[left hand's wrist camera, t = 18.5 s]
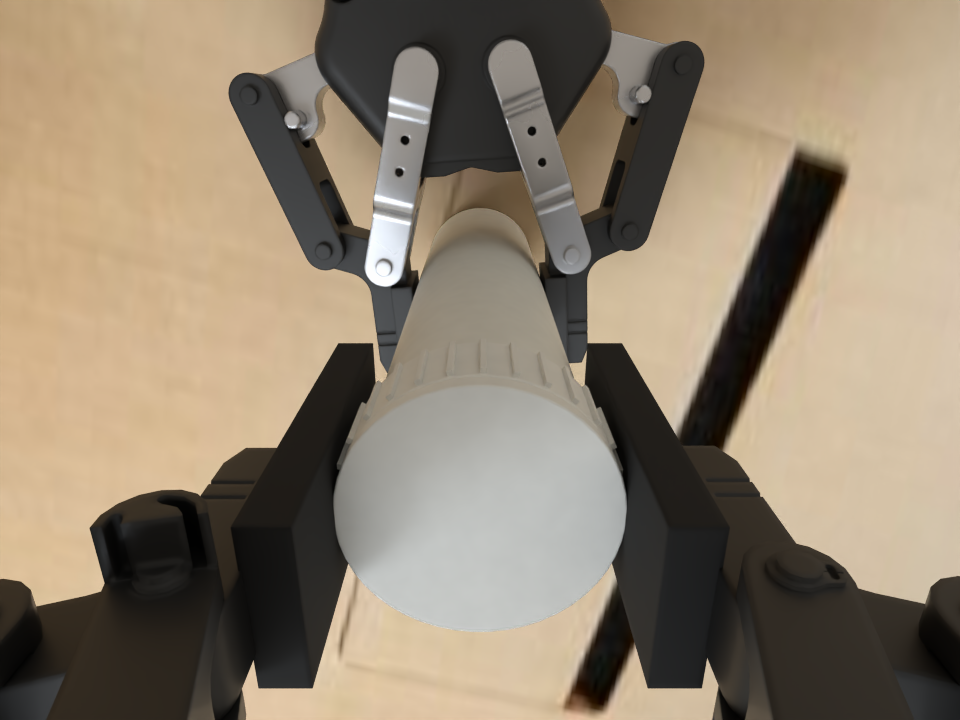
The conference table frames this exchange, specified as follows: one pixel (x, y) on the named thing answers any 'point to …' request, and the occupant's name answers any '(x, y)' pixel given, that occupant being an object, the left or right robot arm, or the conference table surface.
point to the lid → (479, 489)
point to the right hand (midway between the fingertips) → (486, 373)
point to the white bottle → (480, 291)
